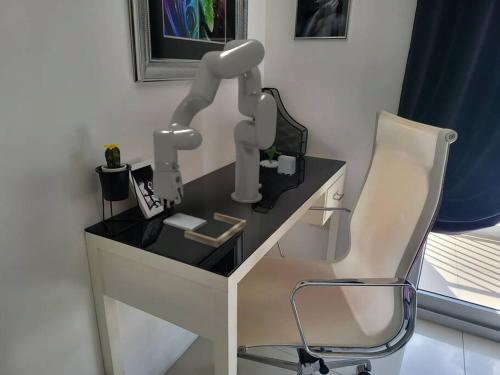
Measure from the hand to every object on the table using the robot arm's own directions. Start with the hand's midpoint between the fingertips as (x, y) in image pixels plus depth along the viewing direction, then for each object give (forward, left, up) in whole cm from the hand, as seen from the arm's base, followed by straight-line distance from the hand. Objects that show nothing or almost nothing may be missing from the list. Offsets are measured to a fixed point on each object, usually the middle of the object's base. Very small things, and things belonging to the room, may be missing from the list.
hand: (168, 216), depth 120 cm
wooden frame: (0, +19, -1) cm, 19 cm away
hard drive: (0, +7, -2) cm, 7 cm away
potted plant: (-85, -1, -1) cm, 85 cm away
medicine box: (-74, +13, -1) cm, 75 cm away
